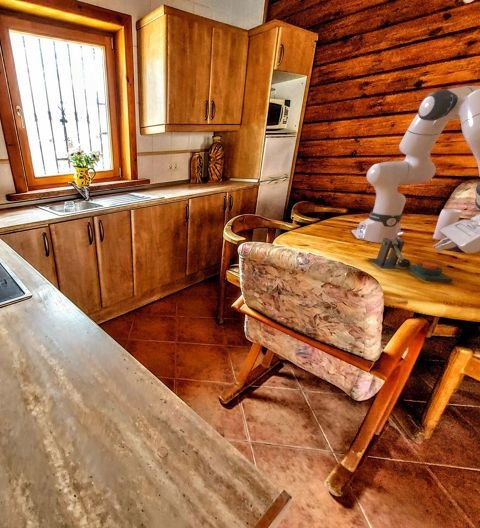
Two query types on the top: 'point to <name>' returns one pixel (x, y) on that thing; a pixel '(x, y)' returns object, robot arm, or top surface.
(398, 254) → the lever
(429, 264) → the button
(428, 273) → the panel
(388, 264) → the power bracket
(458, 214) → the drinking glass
